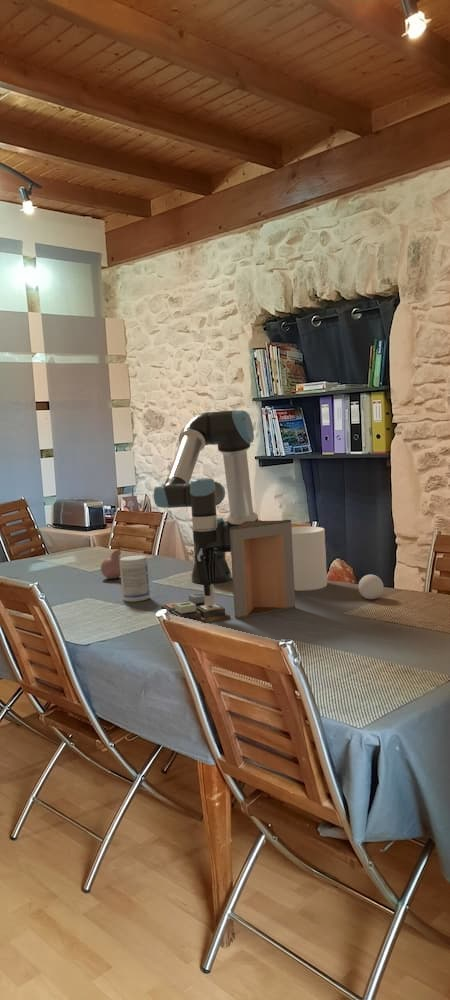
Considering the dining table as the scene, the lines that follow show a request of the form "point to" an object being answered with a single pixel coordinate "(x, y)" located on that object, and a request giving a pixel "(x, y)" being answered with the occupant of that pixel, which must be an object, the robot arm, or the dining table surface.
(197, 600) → the key slate
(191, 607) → the key sage
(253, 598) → the cabinet
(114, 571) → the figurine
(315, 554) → the canister
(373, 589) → the ball
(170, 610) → the keypad board
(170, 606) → the key terracotta
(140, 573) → the supplement tub
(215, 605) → the key cream
